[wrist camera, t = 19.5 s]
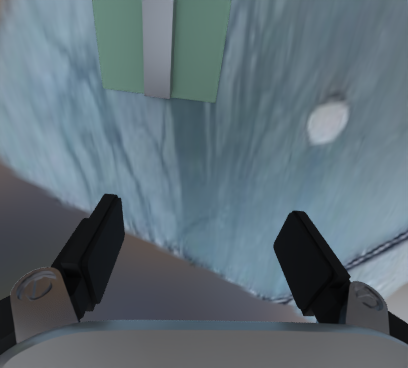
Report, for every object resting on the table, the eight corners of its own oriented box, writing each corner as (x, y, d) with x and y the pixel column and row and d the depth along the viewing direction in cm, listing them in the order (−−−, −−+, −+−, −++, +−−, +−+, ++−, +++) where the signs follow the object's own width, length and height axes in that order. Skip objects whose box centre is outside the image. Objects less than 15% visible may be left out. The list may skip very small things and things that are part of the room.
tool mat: (243, -82, 20) (244, -84, 20) (215, 102, 30) (215, 103, 30) (77, -124, 18) (75, -128, 18) (104, 87, 28) (103, 88, 28)
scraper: (228, -32, 22) (237, -53, 18) (209, 97, 29) (213, 104, 25) (95, -62, 20) (70, -92, 16) (110, 84, 27) (96, 89, 23)
